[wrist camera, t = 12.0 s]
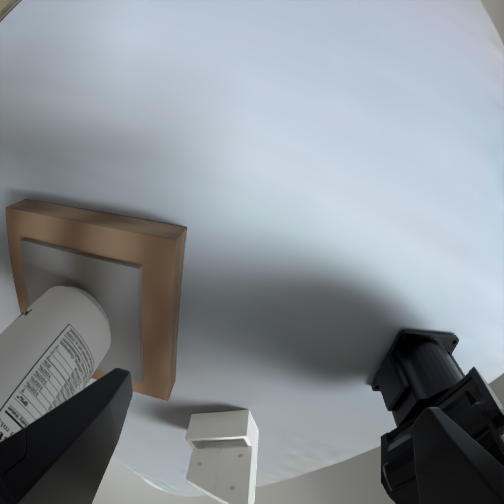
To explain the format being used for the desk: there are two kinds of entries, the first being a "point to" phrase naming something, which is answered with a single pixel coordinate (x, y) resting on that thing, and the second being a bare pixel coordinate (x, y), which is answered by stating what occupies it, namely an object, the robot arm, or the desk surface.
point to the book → (7, 7)
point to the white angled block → (224, 455)
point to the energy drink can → (49, 355)
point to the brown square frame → (107, 280)
